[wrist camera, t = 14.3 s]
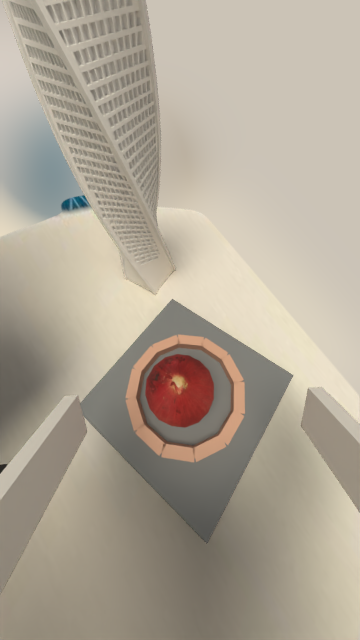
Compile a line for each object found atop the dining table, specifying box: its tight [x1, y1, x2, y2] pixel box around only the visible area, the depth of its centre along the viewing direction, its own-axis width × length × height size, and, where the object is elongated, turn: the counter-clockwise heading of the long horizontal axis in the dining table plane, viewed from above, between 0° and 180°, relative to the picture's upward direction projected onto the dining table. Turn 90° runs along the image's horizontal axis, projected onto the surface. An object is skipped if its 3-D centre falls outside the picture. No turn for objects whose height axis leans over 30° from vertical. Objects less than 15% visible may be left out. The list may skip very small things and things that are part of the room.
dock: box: [80, 299, 293, 543], centre depth 20 cm, size 16×16×3 cm
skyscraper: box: [2, 0, 176, 295], centre depth 16 cm, size 8×8×28 cm
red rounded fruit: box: [145, 354, 214, 428], centre depth 17 cm, size 6×6×8 cm
